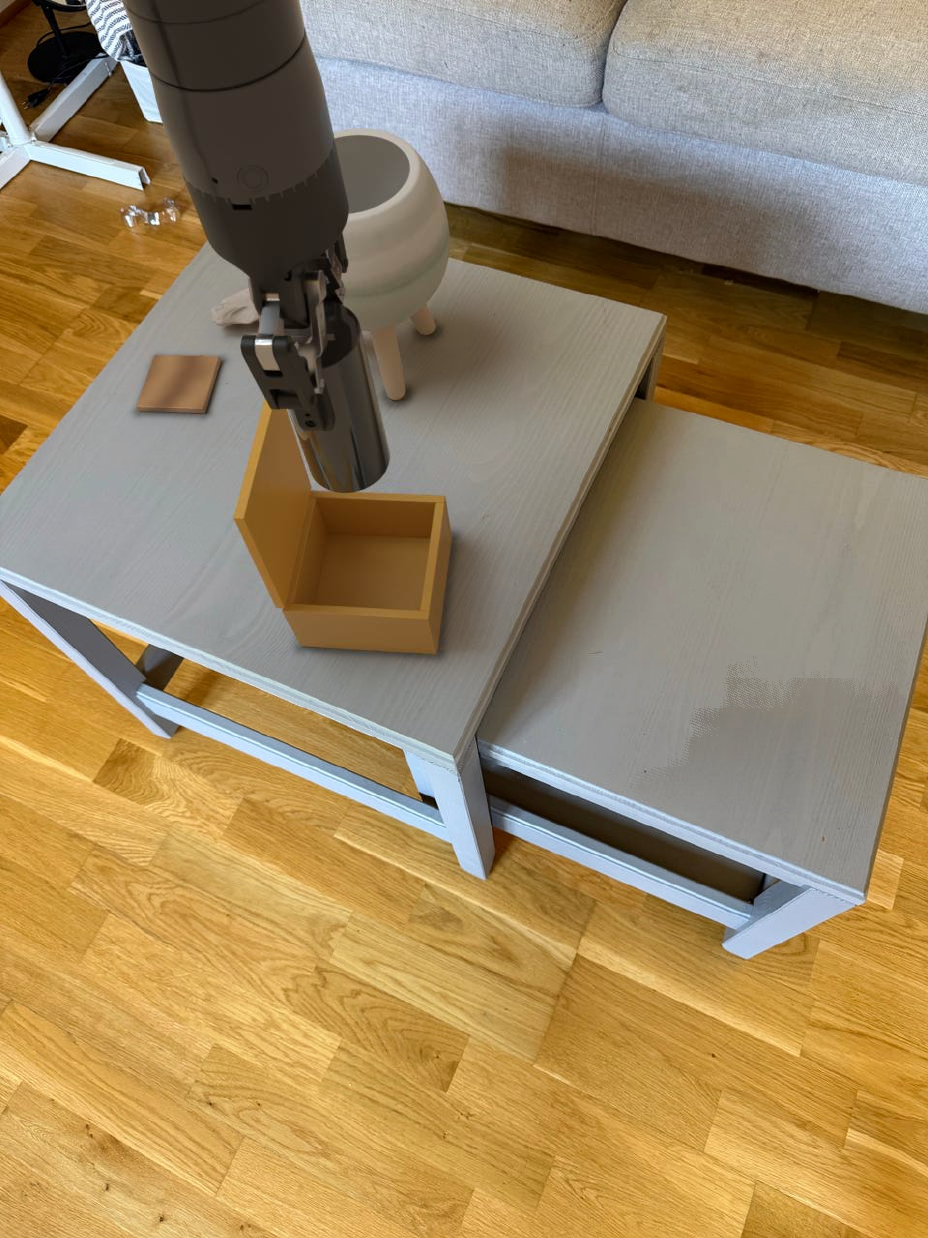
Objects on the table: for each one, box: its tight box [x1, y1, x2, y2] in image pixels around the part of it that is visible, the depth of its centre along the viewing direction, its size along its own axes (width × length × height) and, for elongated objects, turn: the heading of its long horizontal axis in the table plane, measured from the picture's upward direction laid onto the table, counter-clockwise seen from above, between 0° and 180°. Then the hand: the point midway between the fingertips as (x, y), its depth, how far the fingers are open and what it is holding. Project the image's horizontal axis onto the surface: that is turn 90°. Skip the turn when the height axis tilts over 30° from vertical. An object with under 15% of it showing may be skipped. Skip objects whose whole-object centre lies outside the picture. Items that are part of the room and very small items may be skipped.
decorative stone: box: [210, 286, 259, 328], centre depth 102 cm, size 9×6×3 cm, turn 123°
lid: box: [232, 398, 313, 609], centre depth 73 cm, size 14×13×1 cm
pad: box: [136, 354, 222, 414], centre depth 98 cm, size 8×8×1 cm
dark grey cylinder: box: [284, 300, 391, 493], centre depth 59 cm, size 6×6×12 cm
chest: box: [281, 489, 453, 655], centre depth 82 cm, size 13×13×7 cm
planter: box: [333, 128, 451, 401], centre depth 89 cm, size 16×16×22 cm
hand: (327, 386), depth 58 cm, fingers closed on dark grey cylinder, 6 cm apart
